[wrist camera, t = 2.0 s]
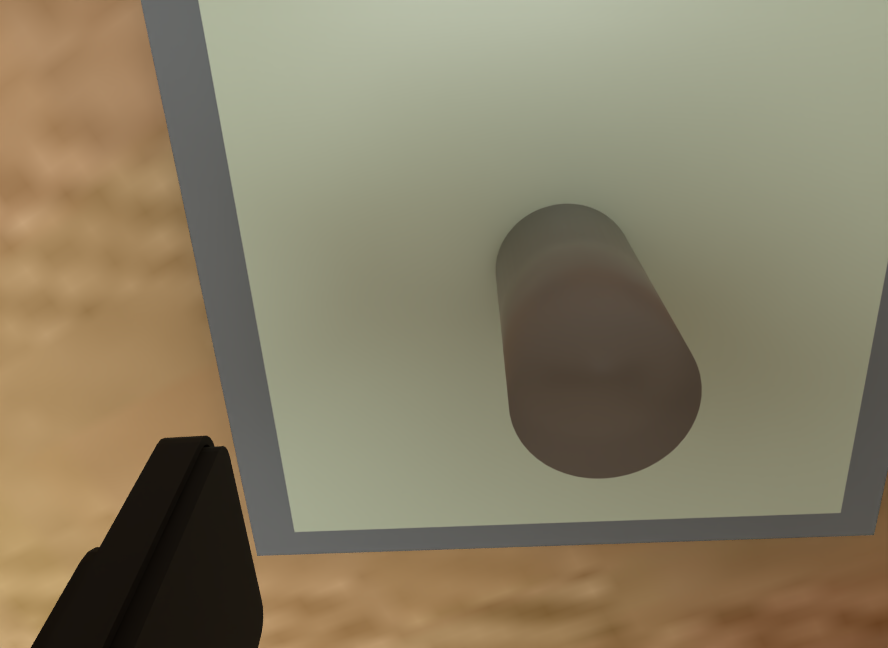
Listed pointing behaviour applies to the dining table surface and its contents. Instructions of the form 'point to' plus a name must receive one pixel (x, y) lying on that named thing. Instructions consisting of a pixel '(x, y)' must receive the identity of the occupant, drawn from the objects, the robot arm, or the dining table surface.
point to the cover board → (509, 133)
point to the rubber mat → (247, 394)
